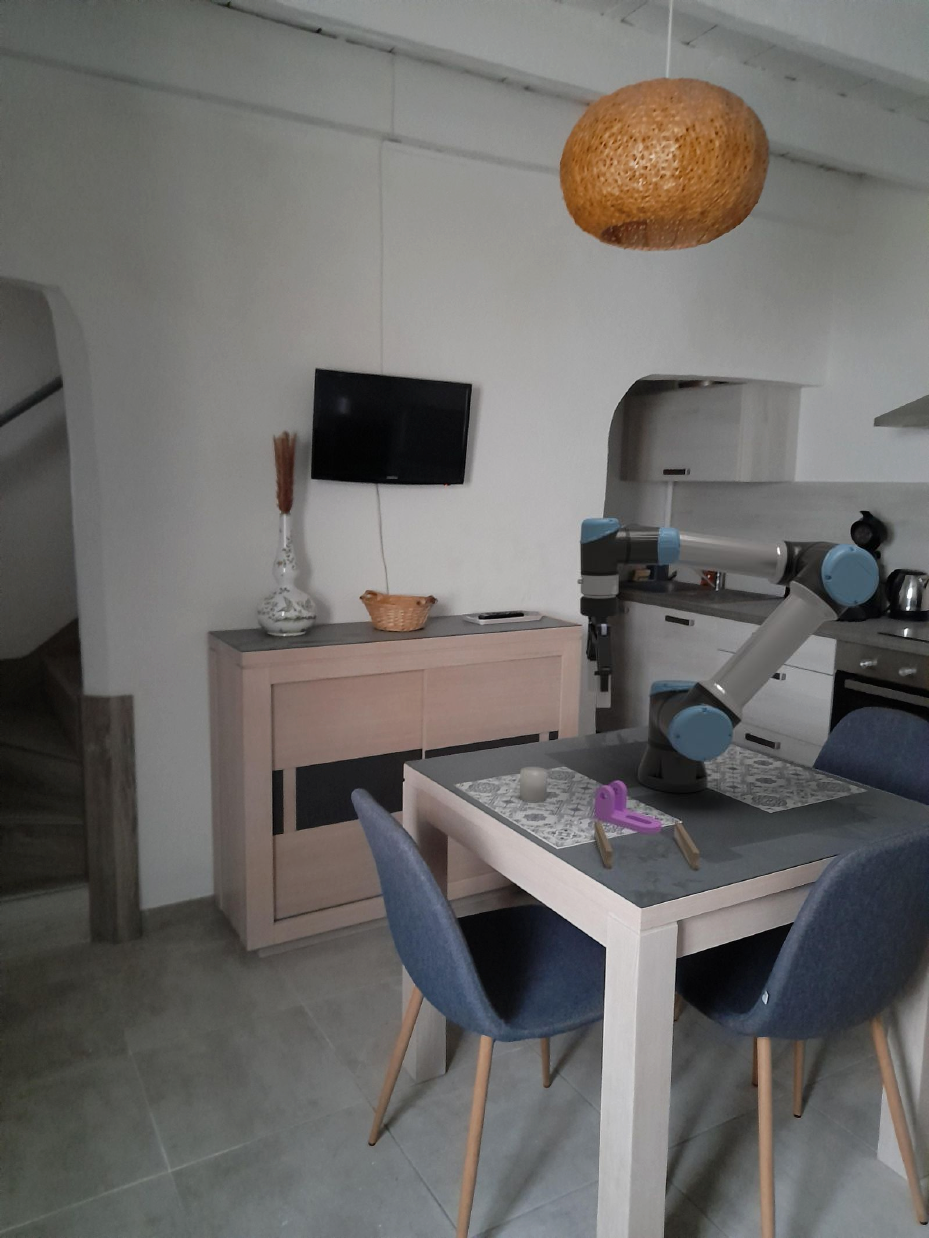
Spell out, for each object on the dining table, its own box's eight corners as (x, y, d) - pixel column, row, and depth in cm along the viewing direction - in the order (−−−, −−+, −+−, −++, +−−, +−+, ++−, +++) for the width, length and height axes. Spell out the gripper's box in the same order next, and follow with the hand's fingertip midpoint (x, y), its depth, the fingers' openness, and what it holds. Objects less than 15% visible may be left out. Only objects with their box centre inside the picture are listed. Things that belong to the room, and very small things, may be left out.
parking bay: (679, 837, 166) (680, 822, 166) (698, 869, 152) (699, 852, 152) (594, 836, 166) (594, 820, 166) (605, 867, 152) (606, 851, 152)
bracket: (594, 818, 175) (595, 784, 174) (610, 811, 179) (611, 778, 178) (651, 836, 167) (653, 801, 166) (666, 829, 171) (668, 794, 170)
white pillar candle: (545, 794, 189) (546, 766, 188) (547, 803, 183) (548, 775, 182) (519, 793, 189) (519, 766, 188) (520, 802, 183) (521, 774, 182)
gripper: (573, 588, 189) (573, 685, 193) (588, 604, 165) (588, 714, 168) (608, 588, 189) (607, 684, 193) (628, 603, 165) (627, 714, 168)
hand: (598, 699), depth 180 cm, fingers open, 13 cm apart
